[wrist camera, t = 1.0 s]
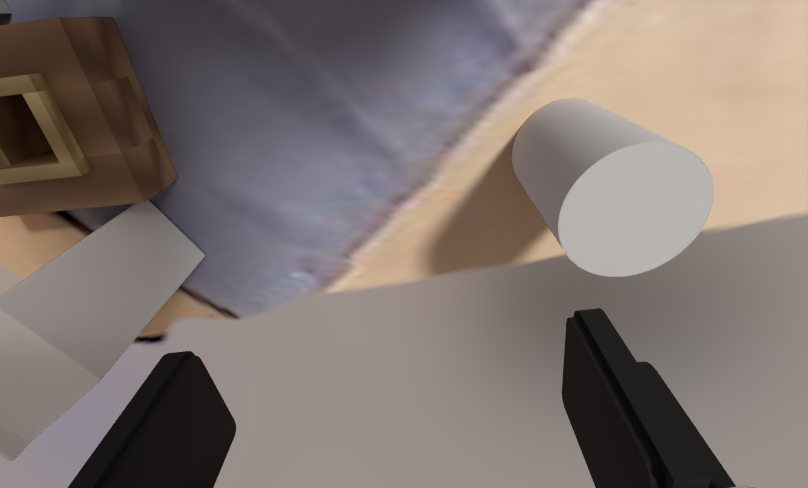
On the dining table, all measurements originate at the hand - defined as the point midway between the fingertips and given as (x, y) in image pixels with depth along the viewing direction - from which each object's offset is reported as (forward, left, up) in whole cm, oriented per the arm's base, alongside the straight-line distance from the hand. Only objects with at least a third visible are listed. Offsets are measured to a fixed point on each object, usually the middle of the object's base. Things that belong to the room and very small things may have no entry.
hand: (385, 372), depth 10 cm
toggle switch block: (-4, -25, -25) cm, 36 cm away
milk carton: (+8, -24, -25) cm, 36 cm away
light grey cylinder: (+3, +13, -25) cm, 28 cm away
